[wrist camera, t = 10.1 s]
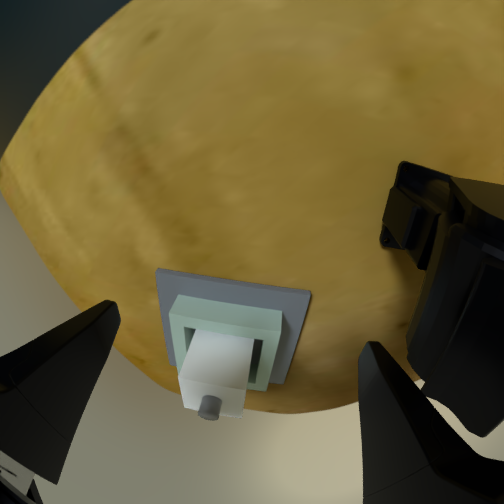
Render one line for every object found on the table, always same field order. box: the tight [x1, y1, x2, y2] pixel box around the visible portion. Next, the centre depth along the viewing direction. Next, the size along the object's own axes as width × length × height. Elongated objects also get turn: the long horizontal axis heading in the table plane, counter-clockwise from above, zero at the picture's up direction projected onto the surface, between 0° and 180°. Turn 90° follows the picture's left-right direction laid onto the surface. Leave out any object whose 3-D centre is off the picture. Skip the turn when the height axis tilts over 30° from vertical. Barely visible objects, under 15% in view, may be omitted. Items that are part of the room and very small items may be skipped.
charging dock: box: [155, 268, 311, 391], centre depth 25 cm, size 13×13×3 cm
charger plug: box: [178, 329, 254, 420], centre depth 22 cm, size 5×5×8 cm
